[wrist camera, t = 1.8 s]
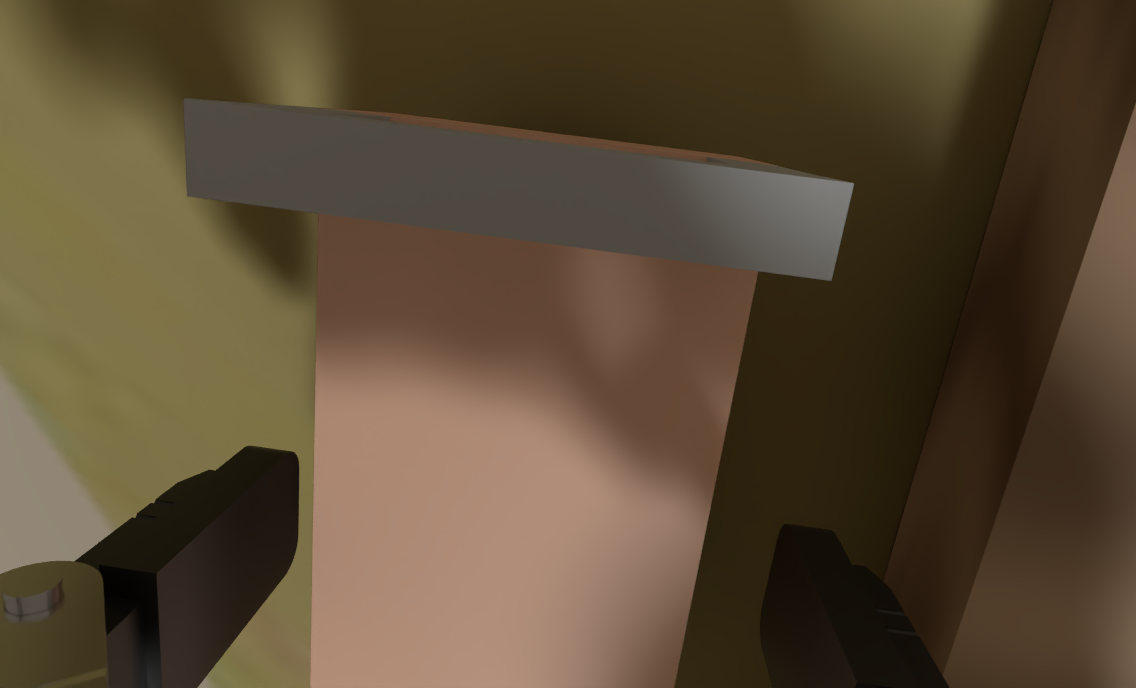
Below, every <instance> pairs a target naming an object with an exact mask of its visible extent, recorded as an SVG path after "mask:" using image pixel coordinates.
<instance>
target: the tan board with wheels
mask: <svg viewBox="0 0 1136 688" xmlns="http://www.w3.org/2000/svg"><path fill="white" fill-rule="evenodd" d="M183 99H184V126H185V153H186V180H187V196H189V197H197V198H204V199H212V200H219V201H227V202H235V203H242V204H250V205H257V206H265V207H273V208H280V209H288V210H295V211H303V212H311V213H318V266H317V326H316V387H315V447H314V508H313V568H312V629H311V688H674V686H675V681H676V676H677V671H678V666H679V661H680V656H681V651H682V646H683V641H684V636H685V631H686V626H687V621H688V616H689V612H690V607H691V602H692V597H693V592H694V587H695V582H696V577H697V572H698V567H699V562H700V557H701V552H702V547H703V542H704V537H705V532H706V527H707V522H708V518H709V513H710V508H711V503H712V498H713V493H714V488H715V483H716V478H717V473H718V468H719V463H720V458H721V453H722V448H723V443H724V438H725V433H726V428H727V424H728V419H729V414H730V409H731V404H732V399H733V394H734V389H735V384H736V379H737V374H738V369H739V364H740V359H741V354H742V349H743V344H744V339H745V334H746V329H747V325H748V320H749V315H750V310H751V305H752V300H753V295H754V290H755V285H756V280H757V275H758V271H759V272H767V273H775V274H782V275H790V276H798V277H805V278H813V279H820V280H828V281H832V276H833V272H834V268H835V264H836V259H837V255H838V251H839V246H840V242H841V238H842V234H843V229H844V225H845V221H846V217H847V212H848V208H849V204H850V199H851V195H852V191H853V187H854V183H851V182H847V181H842V180H838V179H834V178H829V177H824V176H818V175H814V174H810V173H806V172H801V171H797V170H793V169H788V168H784V167H780V166H778V165H773V164H769V163H765V162H760V161H756V160H752V159H747V158H743V157H739V156H731V155H723V154H715V153H707V152H699V151H691V150H683V149H675V148H668V147H660V146H652V145H644V144H636V143H628V142H620V141H612V140H604V139H596V138H588V137H581V136H573V135H565V134H557V133H549V132H541V131H533V130H525V129H517V128H509V127H501V126H494V125H486V124H478V123H470V122H462V121H454V120H446V119H438V118H430V117H422V116H414V115H407V114H399V113H387V112H373V111H359V110H345V109H330V108H313V107H299V106H284V105H270V104H256V103H241V102H231V101H217V100H203V99H189V98H183Z"/></svg>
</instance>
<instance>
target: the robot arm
mask: <svg viewBox="0 0 1136 688" xmlns="http://www.w3.org/2000/svg"><path fill="white" fill-rule="evenodd" d="M298 517H299V461H298V457H297V455H296V454H295V453H294V452H291V451H284V450H277V449H270V448H263V447H256V446H246V447H245V448H243V449H242V450H241V451H239V452H238V453H237V454H236V455H234V456H233V457H232V458H231V459H229V460H228V461H227V462H226V463H224V464H223V465H222V466H221V467H219V468H218V469H217V470H216V471H214V470H207V471H205V472H203V473H200V474H198V475H195V476H193V477H190V478H188V479H185V480H183V481H180V482H178V483H177V484H175V485H174V486H173V487H171V488H170V489H169V490H167V491H166V492H165V493H163V494H162V495H161V496H159V497H158V498H157V499H156V500H155V503H150V504H149V505H148V506H146V507H145V508H144V509H142V510H141V511H140V512H139V513H137V516H136V518H131V519H129V520H128V521H127V522H125V523H124V524H123V525H121V526H120V527H119V528H118V529H116V530H115V531H114V532H112V533H111V534H110V535H108V536H107V537H106V538H104V539H103V540H102V541H101V542H99V543H98V544H97V545H95V546H94V547H93V548H91V549H90V550H89V551H87V552H86V553H85V554H83V555H82V556H81V557H80V558H78V559H77V560H76V561H74V562H73V561H50V562H42V563H36V564H31V565H27V566H23V567H19V568H16V569H12V570H10V571H7V572H4V573H2V574H0V688H197V687H198V686H199V685H200V684H201V682H202V681H203V680H204V678H205V677H206V676H207V675H208V673H209V672H210V671H211V670H212V668H213V667H214V666H215V664H216V663H217V662H218V661H219V659H220V658H221V657H222V655H223V654H224V653H225V652H226V650H227V649H228V648H229V647H230V645H231V644H232V643H233V641H234V640H235V639H236V638H237V636H238V635H239V634H240V632H241V631H242V630H243V629H244V627H245V626H246V625H247V624H248V622H249V621H250V620H251V618H252V617H253V616H254V615H255V613H256V612H257V611H258V609H259V608H260V607H261V606H262V604H263V603H264V602H265V601H266V599H267V598H268V597H269V595H270V594H271V593H272V592H273V590H274V589H275V588H276V586H277V585H278V584H279V583H280V581H281V580H282V579H283V578H284V576H285V575H286V573H287V572H288V570H289V568H290V566H291V564H292V561H293V559H294V555H295V552H296V548H297V542H298ZM760 636H761V645H762V650H763V653H764V657H765V661H766V664H767V668H768V672H769V675H770V679H771V683H772V687H773V688H950V687H949V686H948V684H947V682H946V681H945V679H944V677H943V675H942V674H941V672H940V670H939V669H938V667H937V665H936V664H935V662H934V660H933V659H932V657H931V655H930V654H929V652H928V650H927V649H926V647H925V645H924V644H923V642H922V640H921V639H920V637H919V636H916V630H915V629H914V627H913V625H912V623H911V622H910V620H909V618H908V617H907V616H904V610H903V608H902V607H901V605H900V603H899V602H898V600H897V598H896V597H895V595H894V593H893V592H892V590H891V588H890V587H888V586H887V585H886V584H885V583H884V582H883V581H882V580H880V579H879V578H878V577H877V576H876V575H875V574H873V573H872V572H871V571H870V570H869V569H868V568H867V567H865V566H859V565H852V564H851V562H850V560H849V558H848V556H847V554H846V553H845V551H844V549H843V547H842V545H841V543H840V541H839V540H838V538H837V536H836V534H835V533H834V532H833V531H832V530H826V529H819V528H813V527H806V526H799V525H792V524H784V525H783V526H782V528H781V530H780V532H779V535H778V539H777V543H776V547H775V552H774V556H773V561H772V565H771V569H770V574H769V578H768V583H767V587H766V591H765V596H764V600H763V605H762V611H761V620H760Z"/></svg>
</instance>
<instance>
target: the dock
mask: <svg viewBox="0 0 1136 688" xmlns="http://www.w3.org/2000/svg"><path fill="white" fill-rule="evenodd" d="M883 582H884V583H885V584H886V585H887V586H888V587H890V588H891V590H892V592H893V593H894V595H895V597H896V598H897V600H898V602H899V603H900V605H901V607H902V608H903V610H904V616H907V617H908V618H909V620H910V622H911V623H912V625H913V627H914V629H915V630H916V636H919V637H920V639H921V640H922V642H923V644H924V645H925V647H926V649H927V650H928V652H929V654H930V655H931V657H932V659H933V660H934V662H935V664H936V665H937V667H938V669H939V670H940V672H941V674H942V675H943V677H944V679H945V681H946V682H947V684H948V686H949V687H950V688H1136V0H1053V4H1052V7H1051V11H1050V14H1049V17H1048V21H1047V24H1046V28H1045V31H1044V34H1043V38H1042V41H1041V45H1040V48H1039V52H1038V55H1037V58H1036V62H1035V65H1034V69H1033V72H1032V75H1031V79H1030V82H1029V86H1028V89H1027V92H1026V96H1025V99H1024V103H1023V106H1022V110H1021V113H1020V116H1019V120H1018V123H1017V127H1016V130H1015V133H1014V137H1013V140H1012V144H1011V147H1010V150H1009V154H1008V157H1007V161H1006V164H1005V168H1004V171H1003V174H1002V178H1001V181H1000V185H999V188H998V191H997V195H996V198H995V202H994V205H993V209H992V212H991V215H990V219H989V222H988V226H987V229H986V232H985V236H984V239H983V243H982V246H981V249H980V253H979V256H978V260H977V263H976V267H975V270H974V273H973V277H972V280H971V284H970V287H969V290H968V294H967V297H966V301H965V304H964V308H963V311H962V314H961V318H960V321H959V325H958V328H957V331H956V335H955V338H954V342H953V345H952V348H951V352H950V355H949V359H948V362H947V366H946V369H945V372H944V376H943V379H942V383H941V386H940V389H939V393H938V396H937V400H936V403H935V407H934V410H933V413H932V417H931V420H930V424H929V427H928V430H927V434H926V437H925V441H924V444H923V447H922V451H921V454H920V458H919V461H918V465H917V468H916V471H915V475H914V478H913V482H912V485H911V488H910V492H909V495H908V499H907V502H906V506H905V509H904V512H903V516H902V519H901V523H900V526H899V529H898V533H897V536H896V540H895V543H894V546H893V550H892V553H891V557H890V560H889V564H888V567H887V570H886V574H885V577H884V581H883Z"/></svg>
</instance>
